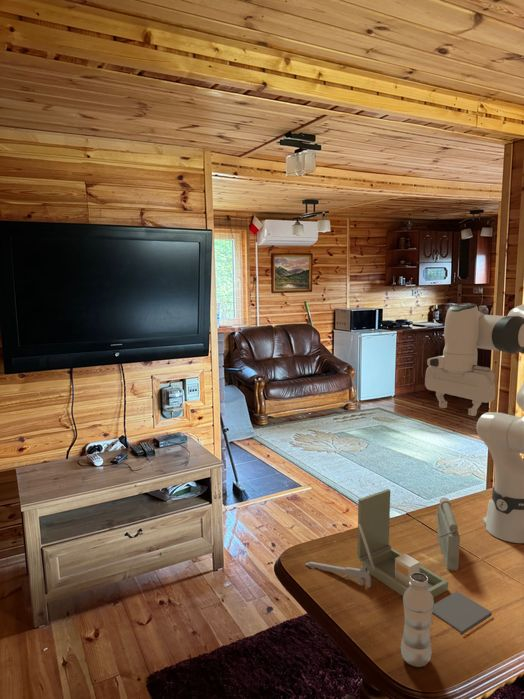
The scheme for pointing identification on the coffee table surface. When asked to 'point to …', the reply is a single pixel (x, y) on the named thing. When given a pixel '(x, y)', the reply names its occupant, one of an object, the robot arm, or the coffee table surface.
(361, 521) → the equipment case
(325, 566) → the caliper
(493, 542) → the coffee table surface
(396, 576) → the block
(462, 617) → the rubber mat
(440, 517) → the geiger counter
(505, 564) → the coffee table surface
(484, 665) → the coffee table surface
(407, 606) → the plastic bottle
